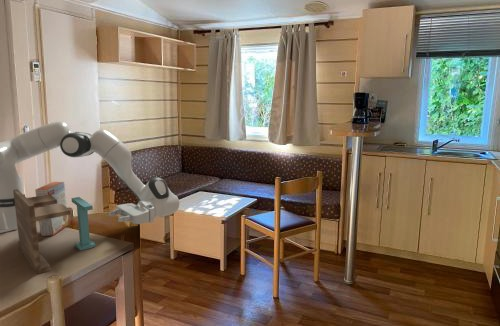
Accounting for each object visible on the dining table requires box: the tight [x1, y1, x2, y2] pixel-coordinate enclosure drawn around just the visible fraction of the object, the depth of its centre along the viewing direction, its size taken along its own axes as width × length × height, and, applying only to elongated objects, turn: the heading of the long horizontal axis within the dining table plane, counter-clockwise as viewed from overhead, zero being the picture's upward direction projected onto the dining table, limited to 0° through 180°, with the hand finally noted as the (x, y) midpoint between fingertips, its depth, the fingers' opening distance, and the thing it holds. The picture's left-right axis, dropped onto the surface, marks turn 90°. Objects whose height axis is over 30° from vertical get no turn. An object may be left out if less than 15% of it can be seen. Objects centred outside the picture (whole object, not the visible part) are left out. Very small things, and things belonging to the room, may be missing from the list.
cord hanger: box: [71, 196, 96, 252], centre depth 153 cm, size 6×16×18 cm, turn 40°
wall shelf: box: [13, 189, 72, 275], centre depth 144 cm, size 12×28×24 cm, turn 40°
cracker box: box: [35, 181, 69, 237], centre depth 171 cm, size 14×6×21 cm, turn 178°
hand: (113, 216), depth 161 cm, fingers open, 8 cm apart
